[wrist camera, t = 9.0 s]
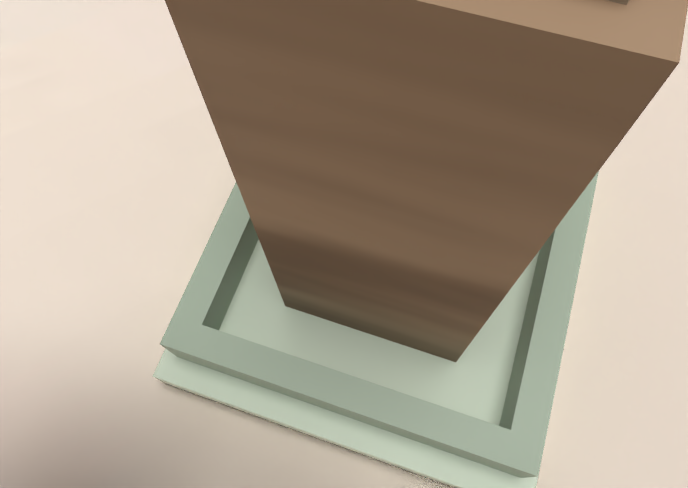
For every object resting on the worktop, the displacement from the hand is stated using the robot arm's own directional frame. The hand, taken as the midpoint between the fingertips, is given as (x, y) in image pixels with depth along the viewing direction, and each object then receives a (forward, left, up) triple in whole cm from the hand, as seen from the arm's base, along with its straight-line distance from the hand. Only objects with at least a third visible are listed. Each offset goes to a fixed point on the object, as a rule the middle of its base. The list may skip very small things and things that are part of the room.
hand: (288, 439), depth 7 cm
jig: (+6, +2, -9) cm, 11 cm away
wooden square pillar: (+6, +2, -8) cm, 10 cm away
